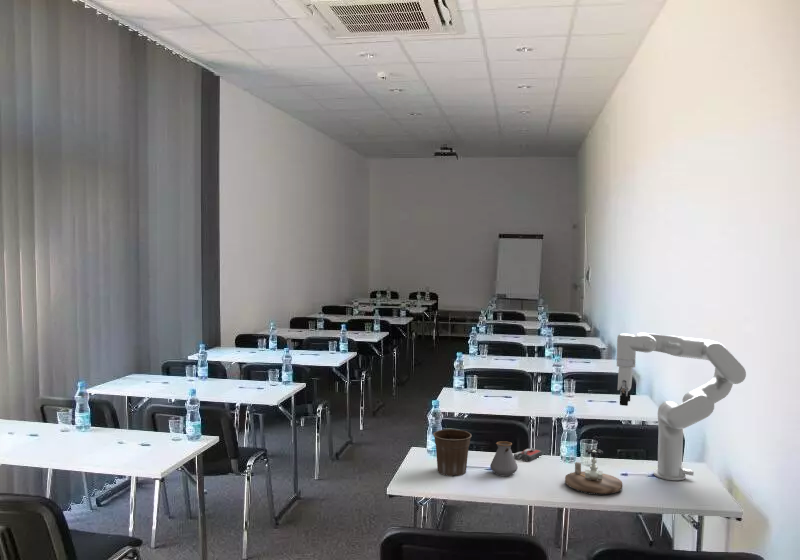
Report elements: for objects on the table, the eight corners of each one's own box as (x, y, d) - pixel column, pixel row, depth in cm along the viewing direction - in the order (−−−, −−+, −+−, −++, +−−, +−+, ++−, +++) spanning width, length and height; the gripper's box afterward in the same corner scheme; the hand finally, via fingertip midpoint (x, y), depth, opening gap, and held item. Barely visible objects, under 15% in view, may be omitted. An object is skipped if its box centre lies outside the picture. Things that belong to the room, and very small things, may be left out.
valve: (602, 483, 258) (603, 453, 258) (585, 482, 260) (585, 452, 259) (601, 478, 264) (602, 448, 264) (584, 476, 266) (585, 447, 266)
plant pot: (463, 480, 267) (463, 441, 266) (426, 474, 274) (427, 436, 273) (476, 469, 281) (476, 432, 281) (441, 463, 288) (441, 427, 288)
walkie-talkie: (527, 452, 309) (504, 462, 294) (527, 443, 309) (504, 452, 294) (543, 456, 303) (521, 466, 288) (544, 447, 303) (521, 456, 288)
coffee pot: (489, 468, 283) (490, 434, 283) (516, 469, 282) (516, 435, 282) (492, 485, 262) (493, 447, 261) (521, 486, 261) (522, 448, 261)
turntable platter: (594, 472, 277) (594, 458, 276) (634, 488, 257) (634, 473, 257) (553, 479, 267) (553, 464, 267) (592, 496, 247) (592, 481, 247)
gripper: (619, 359, 287) (618, 398, 288) (614, 365, 271) (613, 406, 272) (637, 361, 284) (636, 400, 284) (633, 366, 268) (632, 408, 269)
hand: (625, 403), depth 278 cm, fingers open, 9 cm apart
